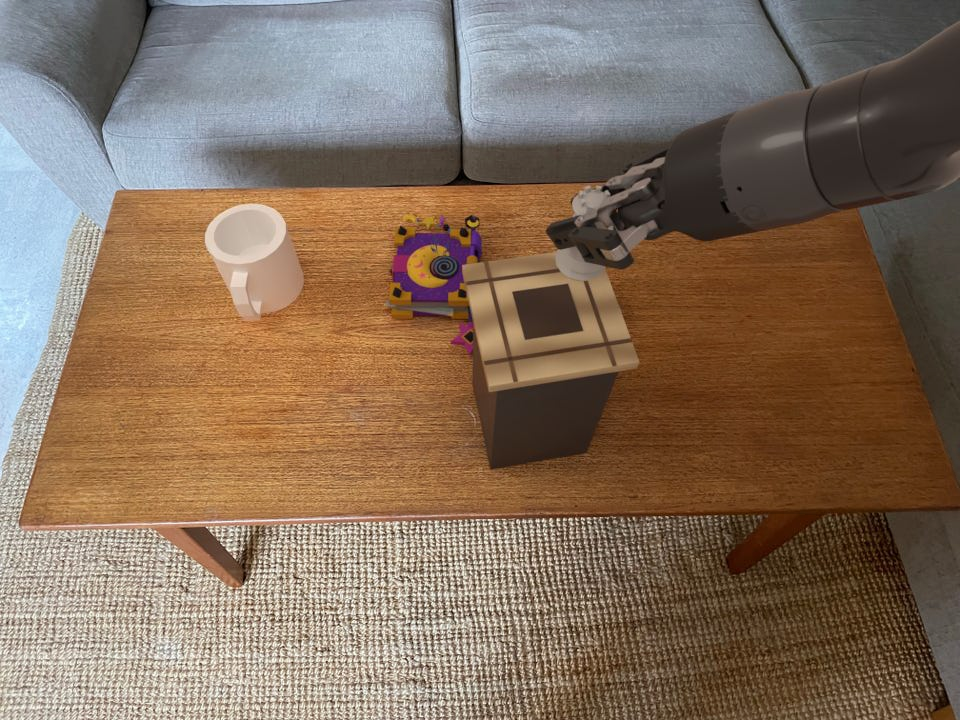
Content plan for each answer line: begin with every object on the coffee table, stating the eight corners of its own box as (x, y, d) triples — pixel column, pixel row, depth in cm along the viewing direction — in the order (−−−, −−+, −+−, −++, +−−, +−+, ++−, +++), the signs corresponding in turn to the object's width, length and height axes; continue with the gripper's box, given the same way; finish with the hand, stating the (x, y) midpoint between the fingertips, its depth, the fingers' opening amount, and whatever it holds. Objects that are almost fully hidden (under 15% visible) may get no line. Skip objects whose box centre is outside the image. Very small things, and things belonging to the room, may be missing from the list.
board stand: (586, 453, 79) (623, 361, 60) (490, 469, 78) (497, 381, 59) (561, 369, 85) (588, 262, 67) (472, 383, 84) (473, 278, 65)
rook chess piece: (591, 292, 55) (608, 226, 48) (545, 270, 56) (555, 202, 49) (614, 258, 57) (633, 190, 50) (569, 237, 58) (582, 168, 51)
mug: (297, 332, 88) (277, 284, 79) (221, 334, 87) (192, 286, 78) (307, 255, 95) (290, 202, 85) (237, 256, 94) (212, 204, 85)
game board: (636, 368, 60) (640, 361, 59) (488, 392, 59) (489, 385, 57) (595, 253, 67) (597, 245, 66) (462, 272, 66) (462, 264, 64)
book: (489, 223, 98) (492, 161, 88) (489, 365, 86) (492, 312, 75) (393, 222, 98) (384, 159, 88) (379, 363, 85) (366, 310, 75)
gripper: (778, 56, 41) (584, 137, 55) (683, 185, 35) (492, 240, 49) (821, 155, 44) (626, 208, 58) (740, 289, 38) (544, 313, 52)
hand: (565, 222), depth 54 cm, fingers closed on rook chess piece, 3 cm apart
